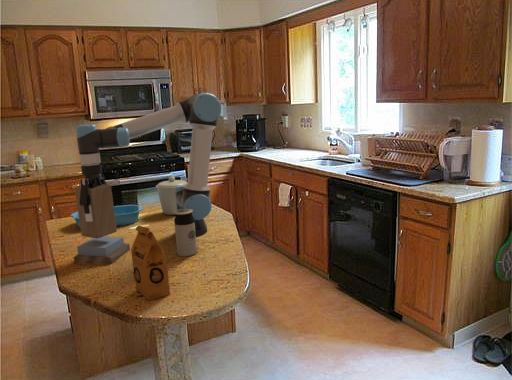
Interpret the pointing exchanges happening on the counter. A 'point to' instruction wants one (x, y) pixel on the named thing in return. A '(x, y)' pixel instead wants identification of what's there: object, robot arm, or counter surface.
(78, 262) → the walnut slab
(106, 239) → the slate slab
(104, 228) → the wooden block
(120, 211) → the casserole dish
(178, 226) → the travel mug
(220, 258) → the counter surface
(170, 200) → the canister
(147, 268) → the coffee package
